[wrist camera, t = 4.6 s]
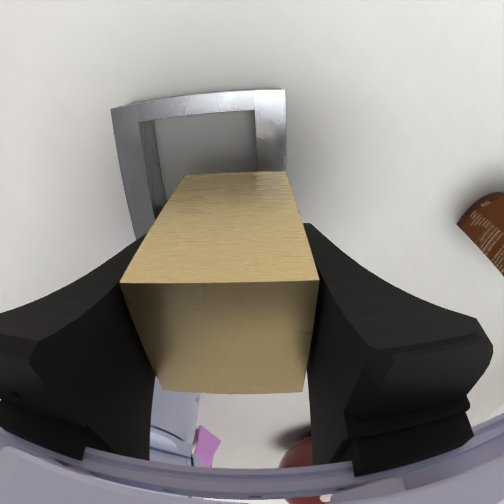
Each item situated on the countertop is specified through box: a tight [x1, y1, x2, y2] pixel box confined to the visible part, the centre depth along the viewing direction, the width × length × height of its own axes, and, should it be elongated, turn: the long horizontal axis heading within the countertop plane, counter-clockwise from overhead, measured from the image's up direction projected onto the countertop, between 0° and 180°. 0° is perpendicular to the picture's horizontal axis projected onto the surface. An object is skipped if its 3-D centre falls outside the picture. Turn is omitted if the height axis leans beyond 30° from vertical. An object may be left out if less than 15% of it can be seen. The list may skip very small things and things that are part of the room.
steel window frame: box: [111, 89, 286, 240], centre depth 18 cm, size 16×9×2 cm, turn 3°
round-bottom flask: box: [278, 435, 333, 504], centre depth 30 cm, size 13×13×20 cm
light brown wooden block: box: [119, 171, 319, 394], centre depth 10 cm, size 4×4×7 cm
